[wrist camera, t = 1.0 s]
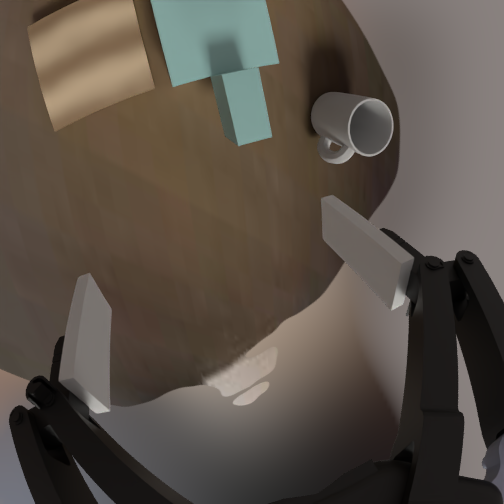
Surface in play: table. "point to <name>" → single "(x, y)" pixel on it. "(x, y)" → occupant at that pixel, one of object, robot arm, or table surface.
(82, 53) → the wooden block
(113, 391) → the table surface
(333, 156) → the cup
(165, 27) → the lid
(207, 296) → the table surface
